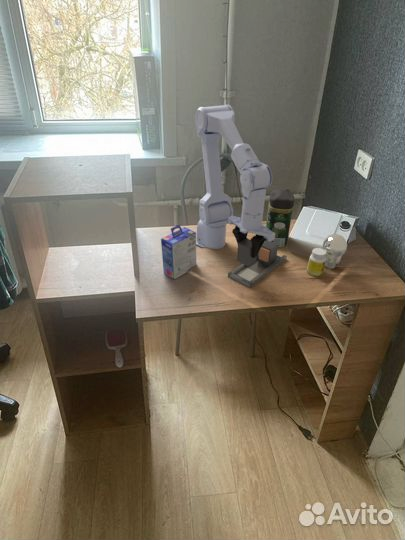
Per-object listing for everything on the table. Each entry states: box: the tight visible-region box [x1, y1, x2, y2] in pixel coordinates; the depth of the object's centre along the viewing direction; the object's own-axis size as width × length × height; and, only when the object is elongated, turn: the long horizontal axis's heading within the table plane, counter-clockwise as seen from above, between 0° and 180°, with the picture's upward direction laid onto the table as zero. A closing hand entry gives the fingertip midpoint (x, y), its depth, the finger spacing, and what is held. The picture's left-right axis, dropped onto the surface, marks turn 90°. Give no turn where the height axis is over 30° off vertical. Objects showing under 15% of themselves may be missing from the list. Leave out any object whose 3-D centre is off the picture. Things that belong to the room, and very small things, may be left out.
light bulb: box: [322, 233, 348, 270], centre depth 119 cm, size 7×7×12 cm
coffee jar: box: [265, 187, 295, 248], centre depth 130 cm, size 10×8×19 cm
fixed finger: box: [258, 240, 279, 266], centre depth 122 cm, size 4×5×6 cm
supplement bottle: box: [306, 247, 326, 277], centre depth 118 cm, size 5×5×8 cm
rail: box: [227, 253, 287, 289], centre depth 120 cm, size 8×20×2 cm, turn 139°
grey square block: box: [236, 238, 257, 266], centre depth 112 cm, size 4×5×6 cm
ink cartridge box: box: [160, 224, 197, 280], centre depth 116 cm, size 10×6×14 cm, turn 137°
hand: (248, 253), depth 112 cm, fingers closed on grey square block, 4 cm apart
